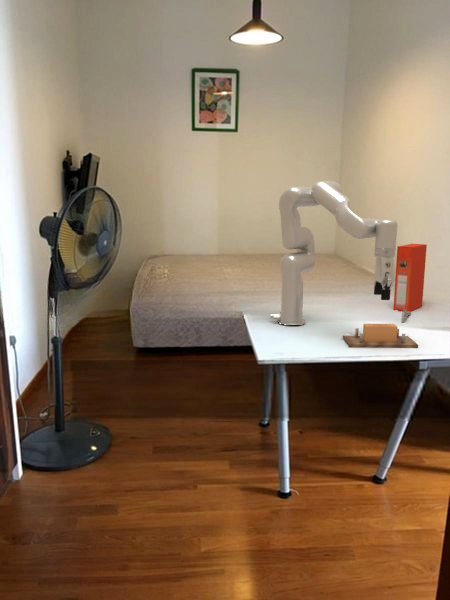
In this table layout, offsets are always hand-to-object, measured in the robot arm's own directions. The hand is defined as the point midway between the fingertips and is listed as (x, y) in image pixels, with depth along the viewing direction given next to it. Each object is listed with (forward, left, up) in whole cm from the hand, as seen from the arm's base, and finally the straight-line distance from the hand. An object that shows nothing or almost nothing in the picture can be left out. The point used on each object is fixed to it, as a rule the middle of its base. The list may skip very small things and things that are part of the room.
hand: (381, 297), depth 193 cm
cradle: (0, 0, -18) cm, 18 cm away
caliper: (+24, +40, -19) cm, 50 cm away
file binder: (+31, +60, -19) cm, 70 cm away
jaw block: (0, 0, -17) cm, 17 cm away
